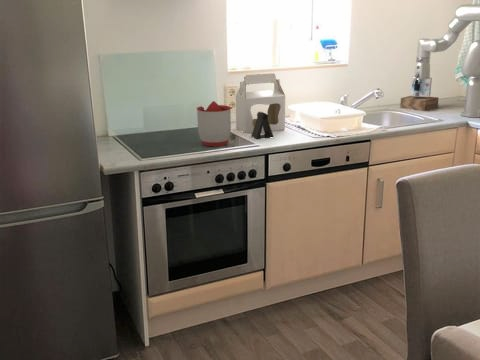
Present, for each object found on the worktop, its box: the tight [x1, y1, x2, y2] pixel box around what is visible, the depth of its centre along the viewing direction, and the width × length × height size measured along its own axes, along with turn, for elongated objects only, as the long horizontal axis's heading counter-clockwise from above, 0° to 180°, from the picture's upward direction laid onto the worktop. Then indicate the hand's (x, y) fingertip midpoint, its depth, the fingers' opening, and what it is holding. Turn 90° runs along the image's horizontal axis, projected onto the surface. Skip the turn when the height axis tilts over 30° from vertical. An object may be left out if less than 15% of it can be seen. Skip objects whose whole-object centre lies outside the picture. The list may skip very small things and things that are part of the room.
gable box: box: [235, 73, 286, 134], centre depth 282 cm, size 22×13×28 cm, turn 112°
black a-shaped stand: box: [251, 111, 274, 140], centre depth 267 cm, size 9×6×12 cm, turn 112°
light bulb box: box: [410, 77, 433, 97], centre depth 333 cm, size 11×7×11 cm, turn 66°
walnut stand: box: [399, 95, 439, 112], centre depth 336 cm, size 16×16×6 cm
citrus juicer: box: [196, 100, 232, 147], centre depth 254 cm, size 16×17×20 cm
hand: (420, 89), depth 333 cm, fingers closed on light bulb box, 8 cm apart
